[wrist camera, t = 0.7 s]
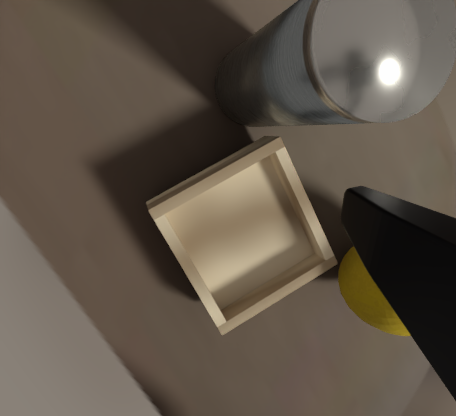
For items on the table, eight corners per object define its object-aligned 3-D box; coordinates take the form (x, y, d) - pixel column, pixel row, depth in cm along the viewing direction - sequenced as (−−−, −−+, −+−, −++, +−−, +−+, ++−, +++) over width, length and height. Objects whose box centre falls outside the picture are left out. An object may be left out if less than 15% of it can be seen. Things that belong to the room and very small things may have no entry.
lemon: (363, 208, 27) (454, 238, 20) (400, 265, 29) (497, 312, 21) (302, 260, 27) (372, 311, 19) (344, 314, 29) (423, 381, 21)
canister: (302, 104, 25) (476, 79, 13) (237, 140, 24) (351, 150, 12) (270, 30, 24) (430, -81, 11) (200, 66, 23) (287, -9, 11)
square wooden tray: (311, 247, 27) (338, 263, 24) (209, 309, 26) (222, 335, 23) (259, 135, 25) (280, 136, 21) (144, 199, 24) (148, 210, 20)
